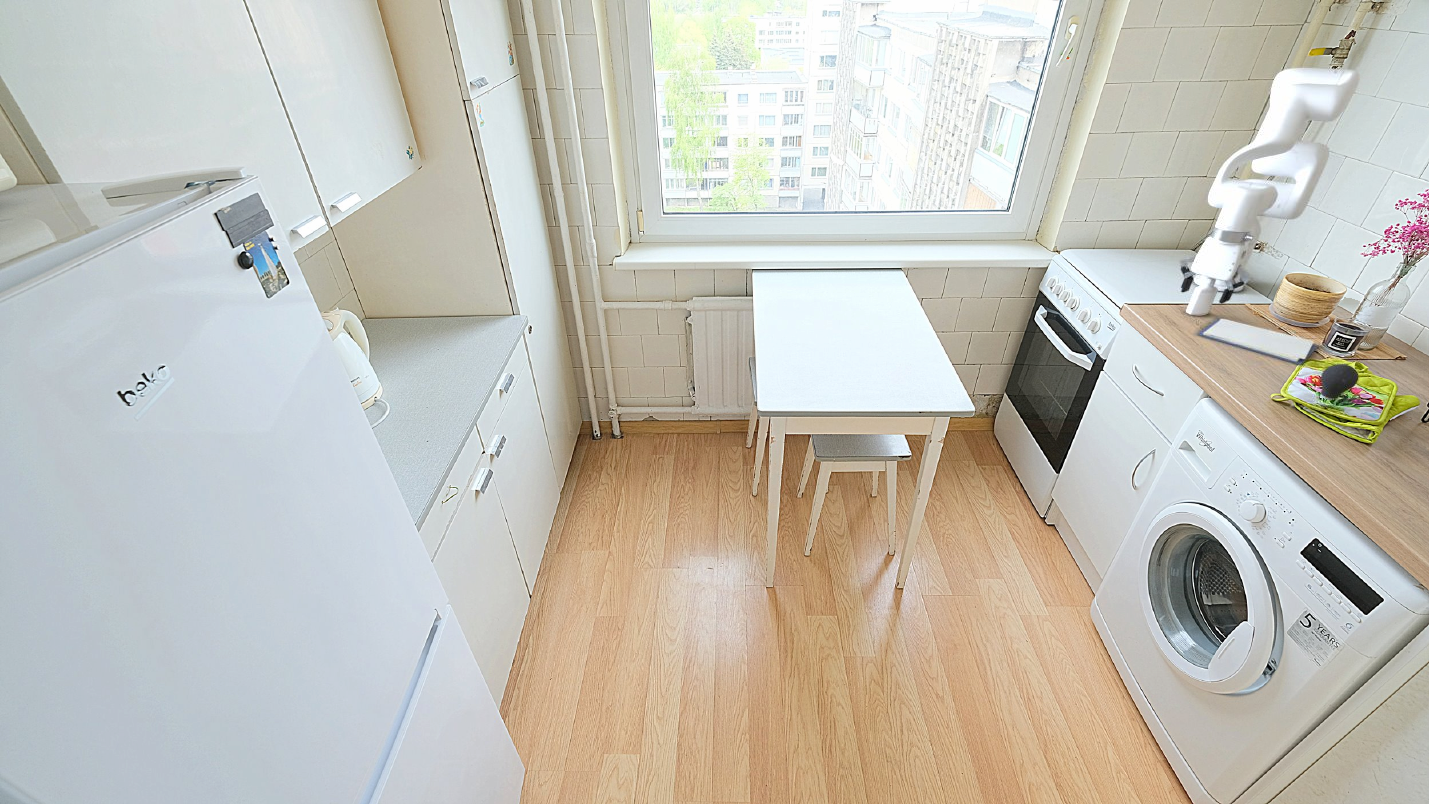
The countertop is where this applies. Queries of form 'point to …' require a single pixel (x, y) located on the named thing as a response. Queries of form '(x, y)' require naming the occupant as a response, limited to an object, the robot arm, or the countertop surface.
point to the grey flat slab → (1260, 340)
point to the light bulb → (1337, 381)
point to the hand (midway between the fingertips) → (1203, 296)
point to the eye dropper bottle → (1202, 298)
